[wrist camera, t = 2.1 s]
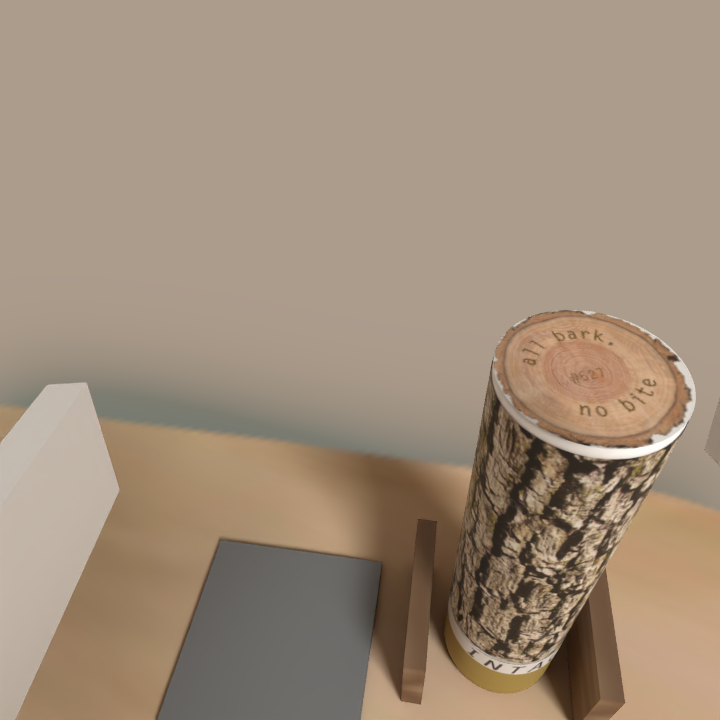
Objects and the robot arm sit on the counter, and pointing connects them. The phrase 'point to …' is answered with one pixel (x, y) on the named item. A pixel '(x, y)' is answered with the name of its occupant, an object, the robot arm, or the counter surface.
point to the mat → (277, 638)
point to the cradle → (584, 641)
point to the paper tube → (556, 483)
